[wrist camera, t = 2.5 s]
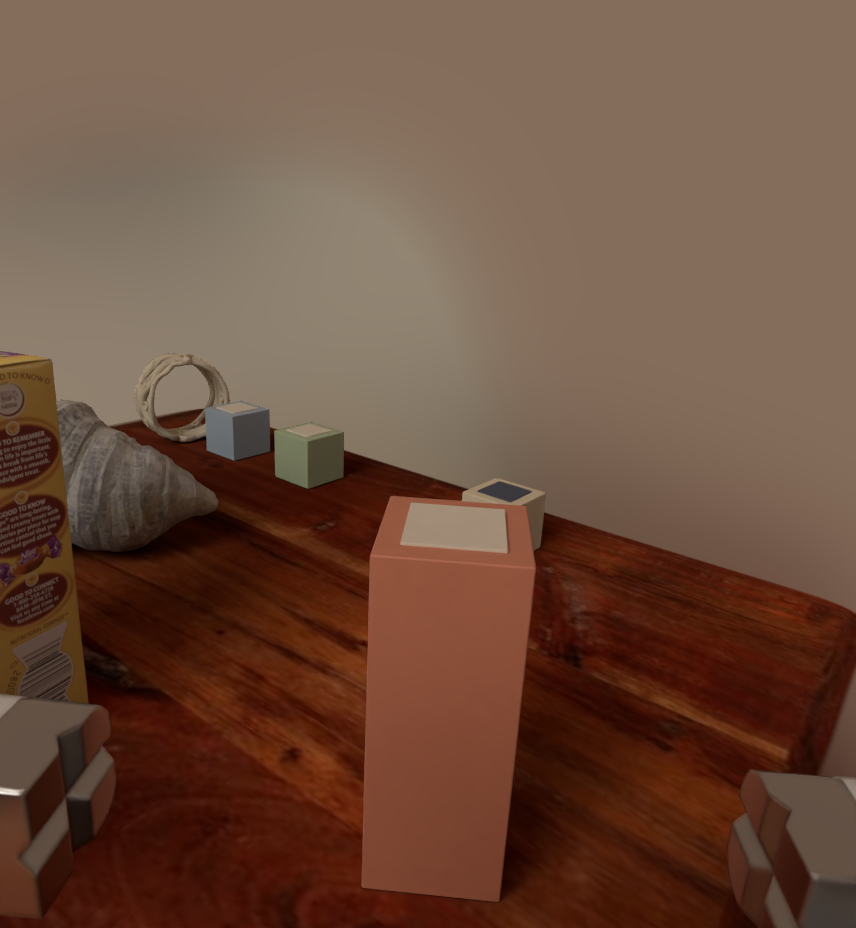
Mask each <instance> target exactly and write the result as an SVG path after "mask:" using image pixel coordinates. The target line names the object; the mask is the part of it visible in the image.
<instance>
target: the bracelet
mask: <svg viewBox="0 0 856 928" xmlns="http://www.w3.org/2000/svg"><path fill="white" fill-rule="evenodd" d="M190 364H191V365H194V366H195V367H197V368H198V369H199V370H200V371H201V372H202V374H203V375H204V377H205V378H206V380H207V382H208V385H209V388H210V398H209V401H208V403H207V405H206V407H205V408H207V407H212V406H213V403H214V400H215V405H214V406H218V405H223V404H229V401H230V400H229V392H228V388H227V385H226V383H225V382H224V380H223V378H222V377H221V375H220V373H219V372H218V371H217V370H216V369H215V367H213V366H211V365H210V364H208V363H207V362H205V361H202V360H201V359H198V358H196V357H194V356H193V355H189V354H188V355H182V354H170V353H168V354H165V355H161V356H158V357H157V358H155V359H154V360H153V361H151V362H150V363H149V364H148V365H147V367H146V368H145V369H144V371H143V372H142V374H141V377H140V380H139V381H138V383H137V386H136V387H135V393H134V402H135V406H136V409H137V412H138V414H139V415H140V417H141V419H142V421H143V423H144V424H145V425H146V426H147V427H148V428H150V429H151V430H152V431H155V432H157V433H158V435H160V436H163V437H164V438H168V439H171V440H176V441H179V442H192V441H194V440H196V439H199V438H203V437H205V436H206V424H204V425H202V424H201V423H200V422H201V421H202V420H203V419H204V417H205V409H204V410H203V411H202V413H201V414H200V415H199V416H198V417H197V419H196V420H195V421H193V422H192V423H191V424H189V425H187V426H184V427H180V428H175V429H163V428H162V427H161V426H160V425H159V423H158V421H157V419H156V415H155V412H154V394H155V388H156V385H157V384H158V382H159V381H160V379H161V378H162V377H164V376H165V375H167V374H168V373H169V372H170V371H171V370H172V369H173V368H174V367H176V366H183V365H190ZM148 395H149V397H148ZM147 397H148V399H149V400H148V401H147ZM192 428H194V429H192Z"/></svg>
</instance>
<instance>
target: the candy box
mask: <svg viewBox="0 0 856 928" xmlns="http://www.w3.org/2000/svg"><path fill="white" fill-rule="evenodd" d="M0 694H7V695H16V696H24V697H37V698H45V699H53V700H62V701H70V702H78V703H86V704H88V693H87V680H86V674H85V665H84V656H83V647H82V639H81V629H80V619H79V609H78V600H77V590H76V581H75V572H74V562H73V553H72V543H71V534H70V524H69V516H68V506H67V497H66V488H65V479H64V470H63V462H62V453H61V442H60V432H59V422H58V413H57V404H56V394H55V385H54V376H53V366H52V361H51V359H49V358H41V357H35V356H29V355H23V354H17V353H9V352H1V351H0Z"/></svg>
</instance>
